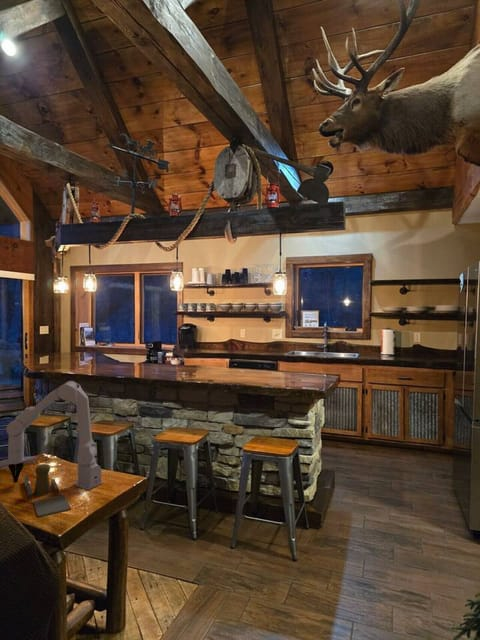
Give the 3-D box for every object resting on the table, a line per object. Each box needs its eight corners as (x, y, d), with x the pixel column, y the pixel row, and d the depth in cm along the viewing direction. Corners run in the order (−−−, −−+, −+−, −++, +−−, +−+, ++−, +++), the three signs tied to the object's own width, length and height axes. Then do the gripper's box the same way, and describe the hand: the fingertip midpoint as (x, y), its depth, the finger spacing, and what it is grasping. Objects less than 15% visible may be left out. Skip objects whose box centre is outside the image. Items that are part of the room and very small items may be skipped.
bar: (34, 498, 157) (34, 492, 157) (28, 499, 156) (28, 493, 156) (28, 481, 173) (28, 475, 173) (23, 481, 172) (23, 476, 172)
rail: (59, 495, 161) (59, 489, 161) (55, 496, 160) (55, 490, 160) (54, 484, 171) (54, 478, 171) (51, 484, 170) (51, 479, 170)
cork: (38, 489, 166) (39, 462, 166) (53, 489, 166) (53, 462, 166) (30, 495, 160) (31, 467, 160) (45, 496, 160) (46, 468, 160)
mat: (71, 509, 150) (71, 508, 150) (37, 517, 144) (37, 515, 144) (64, 495, 161) (64, 494, 161) (33, 502, 155) (33, 501, 155)
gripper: (34, 443, 176) (33, 474, 176) (-5, 448, 168) (-6, 481, 168) (36, 448, 170) (35, 480, 170) (-4, 454, 162) (-5, 488, 162)
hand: (15, 481), depth 168 cm, fingers closed
